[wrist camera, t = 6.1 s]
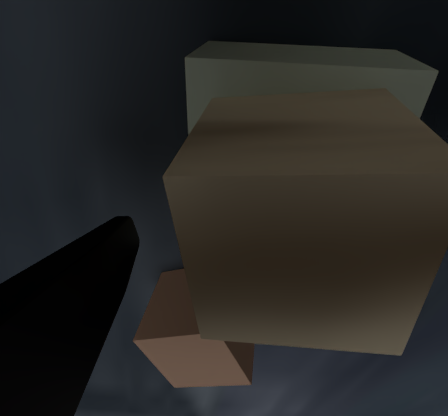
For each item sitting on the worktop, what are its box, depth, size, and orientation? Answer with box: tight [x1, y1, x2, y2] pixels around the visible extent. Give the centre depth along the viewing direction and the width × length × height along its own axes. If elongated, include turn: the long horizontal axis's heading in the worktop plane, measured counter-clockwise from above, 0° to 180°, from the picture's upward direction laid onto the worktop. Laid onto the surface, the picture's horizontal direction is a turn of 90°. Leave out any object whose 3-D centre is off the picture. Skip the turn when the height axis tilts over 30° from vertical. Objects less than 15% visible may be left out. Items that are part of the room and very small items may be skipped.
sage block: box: [185, 41, 439, 135], centre depth 12 cm, size 7×7×4 cm
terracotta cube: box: [133, 269, 254, 388], centre depth 19 cm, size 5×5×5 cm
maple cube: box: [162, 88, 448, 356], centre depth 8 cm, size 5×5×5 cm
